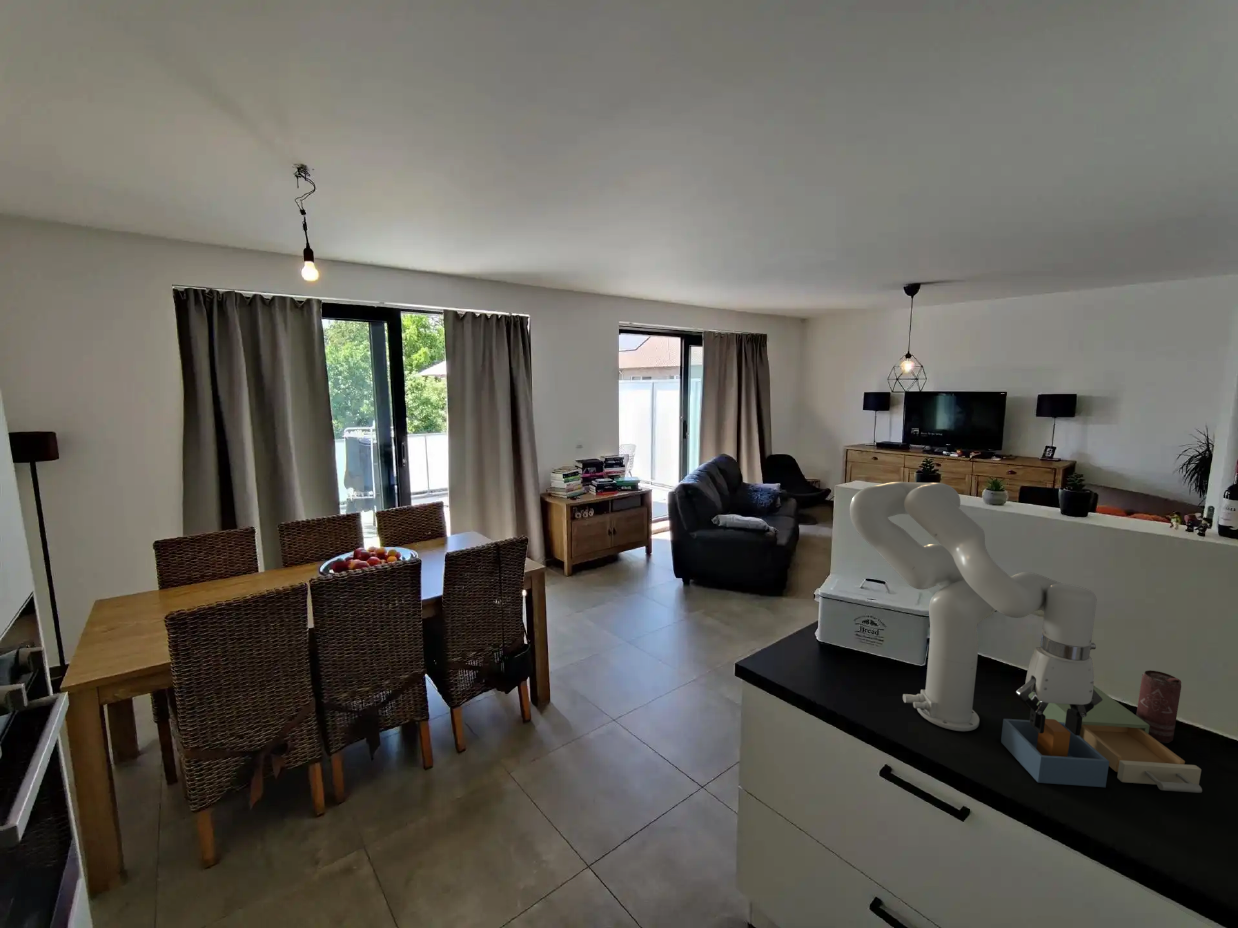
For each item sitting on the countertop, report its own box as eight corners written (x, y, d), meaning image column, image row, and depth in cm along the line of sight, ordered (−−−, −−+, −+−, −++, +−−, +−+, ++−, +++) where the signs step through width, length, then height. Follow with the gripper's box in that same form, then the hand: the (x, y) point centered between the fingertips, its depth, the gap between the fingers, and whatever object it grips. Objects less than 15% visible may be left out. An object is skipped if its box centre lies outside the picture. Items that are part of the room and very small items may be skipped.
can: (1181, 745, 116) (1191, 685, 114) (1147, 742, 117) (1156, 682, 115) (1160, 728, 122) (1169, 670, 120) (1127, 725, 123) (1135, 667, 121)
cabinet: (1146, 749, 115) (1149, 725, 114) (1072, 744, 116) (1075, 720, 115) (1087, 704, 131) (1090, 682, 130) (1023, 700, 133) (1025, 679, 132)
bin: (1037, 782, 105) (1041, 756, 104) (1000, 741, 117) (1003, 718, 116) (1105, 787, 104) (1109, 761, 103) (1061, 745, 116) (1064, 722, 115)
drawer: (1221, 804, 98) (1224, 785, 98) (1140, 798, 100) (1143, 780, 99) (1130, 735, 118) (1133, 719, 117) (1064, 731, 119) (1066, 715, 119)
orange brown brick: (1049, 767, 108) (1054, 731, 107) (1035, 753, 113) (1039, 718, 112) (1066, 769, 108) (1070, 732, 107) (1051, 754, 112) (1055, 719, 111)
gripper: (1097, 640, 110) (1086, 721, 112) (1006, 636, 111) (998, 716, 114) (1127, 658, 102) (1115, 745, 105) (1030, 653, 104) (1020, 739, 107)
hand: (1054, 729), depth 109 cm, fingers open, 6 cm apart
